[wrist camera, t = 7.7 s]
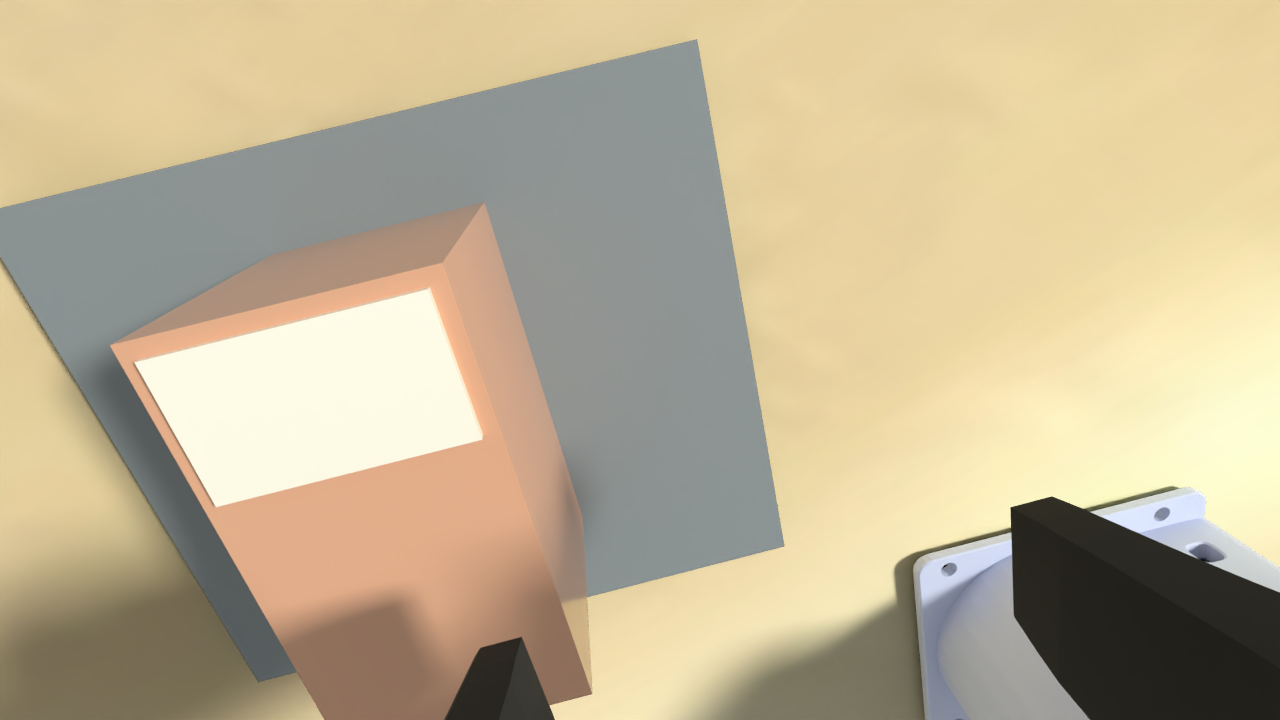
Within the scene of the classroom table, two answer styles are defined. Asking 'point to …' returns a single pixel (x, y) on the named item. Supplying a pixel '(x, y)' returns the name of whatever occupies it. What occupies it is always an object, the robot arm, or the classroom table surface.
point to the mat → (537, 272)
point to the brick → (378, 462)
